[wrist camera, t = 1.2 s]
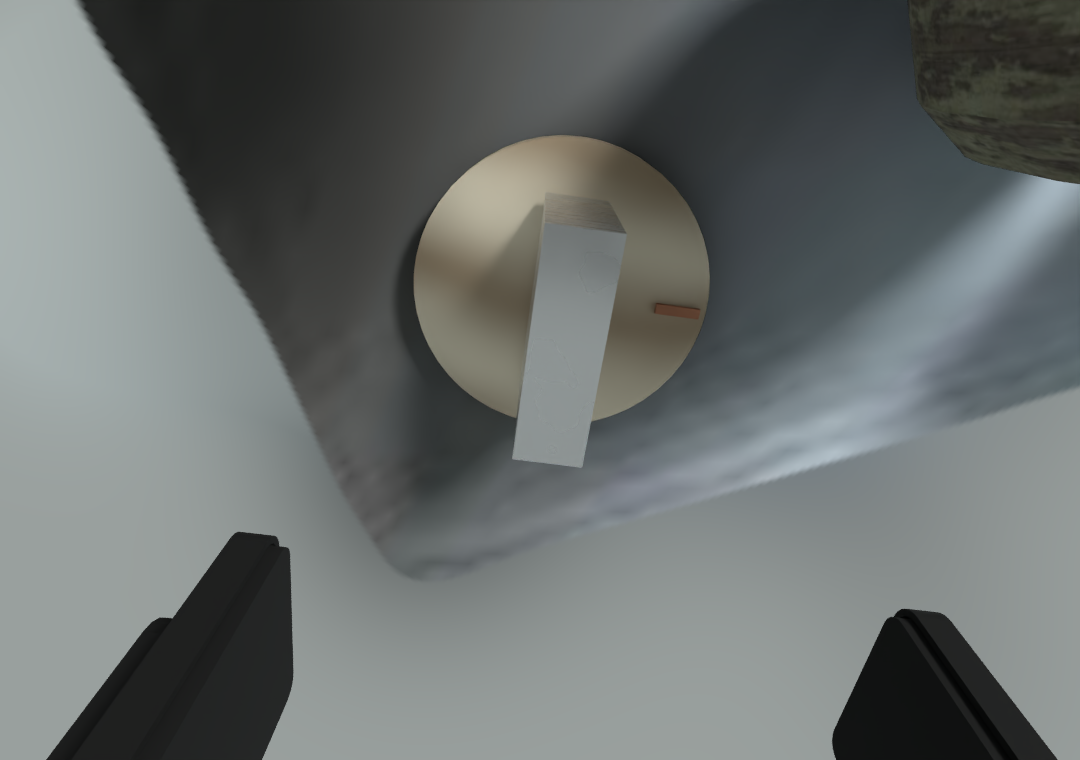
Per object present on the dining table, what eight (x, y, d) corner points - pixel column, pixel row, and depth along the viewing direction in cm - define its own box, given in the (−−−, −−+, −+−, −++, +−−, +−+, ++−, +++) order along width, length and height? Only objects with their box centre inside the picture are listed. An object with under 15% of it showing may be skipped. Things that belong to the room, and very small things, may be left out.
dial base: (429, 113, 25) (421, 115, 23) (733, 158, 25) (746, 163, 24) (413, 392, 30) (405, 408, 28) (667, 424, 30) (673, 442, 29)
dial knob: (545, 192, 24) (544, 222, 18) (609, 200, 24) (627, 234, 18) (515, 415, 28) (507, 495, 22) (569, 422, 28) (575, 503, 22)
